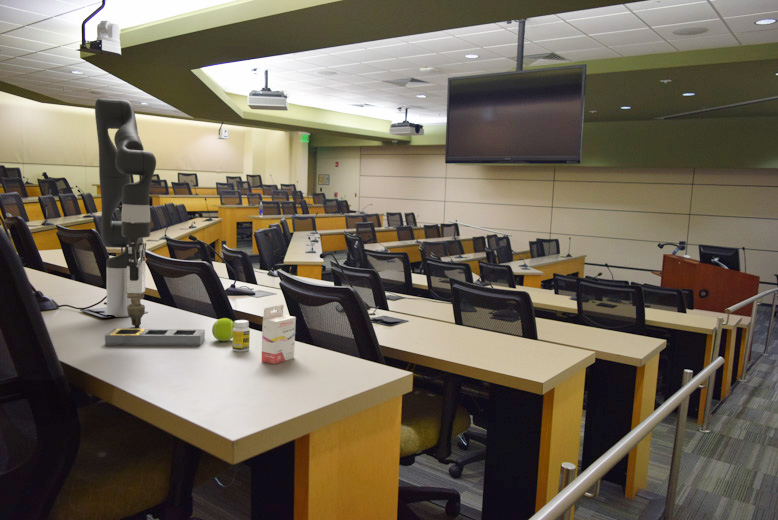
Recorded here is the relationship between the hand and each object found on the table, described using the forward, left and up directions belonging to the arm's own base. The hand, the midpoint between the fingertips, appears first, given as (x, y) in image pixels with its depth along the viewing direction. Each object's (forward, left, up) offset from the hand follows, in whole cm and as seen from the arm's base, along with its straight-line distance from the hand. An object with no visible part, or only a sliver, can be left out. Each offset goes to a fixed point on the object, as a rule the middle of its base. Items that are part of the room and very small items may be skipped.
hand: (136, 278), depth 163 cm
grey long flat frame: (+1, +6, -19) cm, 20 cm away
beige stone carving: (-18, -5, -19) cm, 27 cm away
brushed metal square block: (0, 0, -4) cm, 4 cm away
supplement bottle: (+9, +31, -19) cm, 37 cm away
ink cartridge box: (+19, +42, -19) cm, 50 cm away
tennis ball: (-1, +25, -19) cm, 31 cm away
